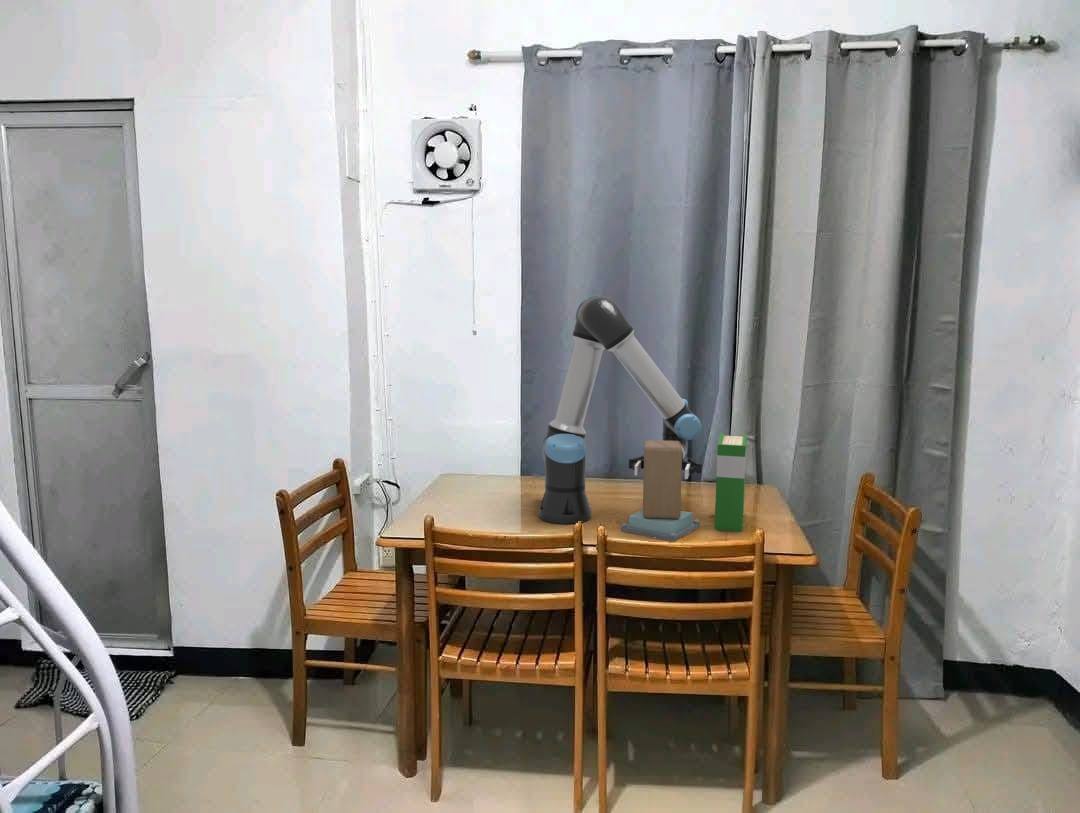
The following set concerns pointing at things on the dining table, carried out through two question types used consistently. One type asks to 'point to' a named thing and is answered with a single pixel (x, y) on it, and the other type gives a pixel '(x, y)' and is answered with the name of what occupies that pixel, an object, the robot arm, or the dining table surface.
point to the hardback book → (730, 482)
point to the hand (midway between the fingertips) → (660, 472)
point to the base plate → (659, 535)
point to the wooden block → (662, 479)
